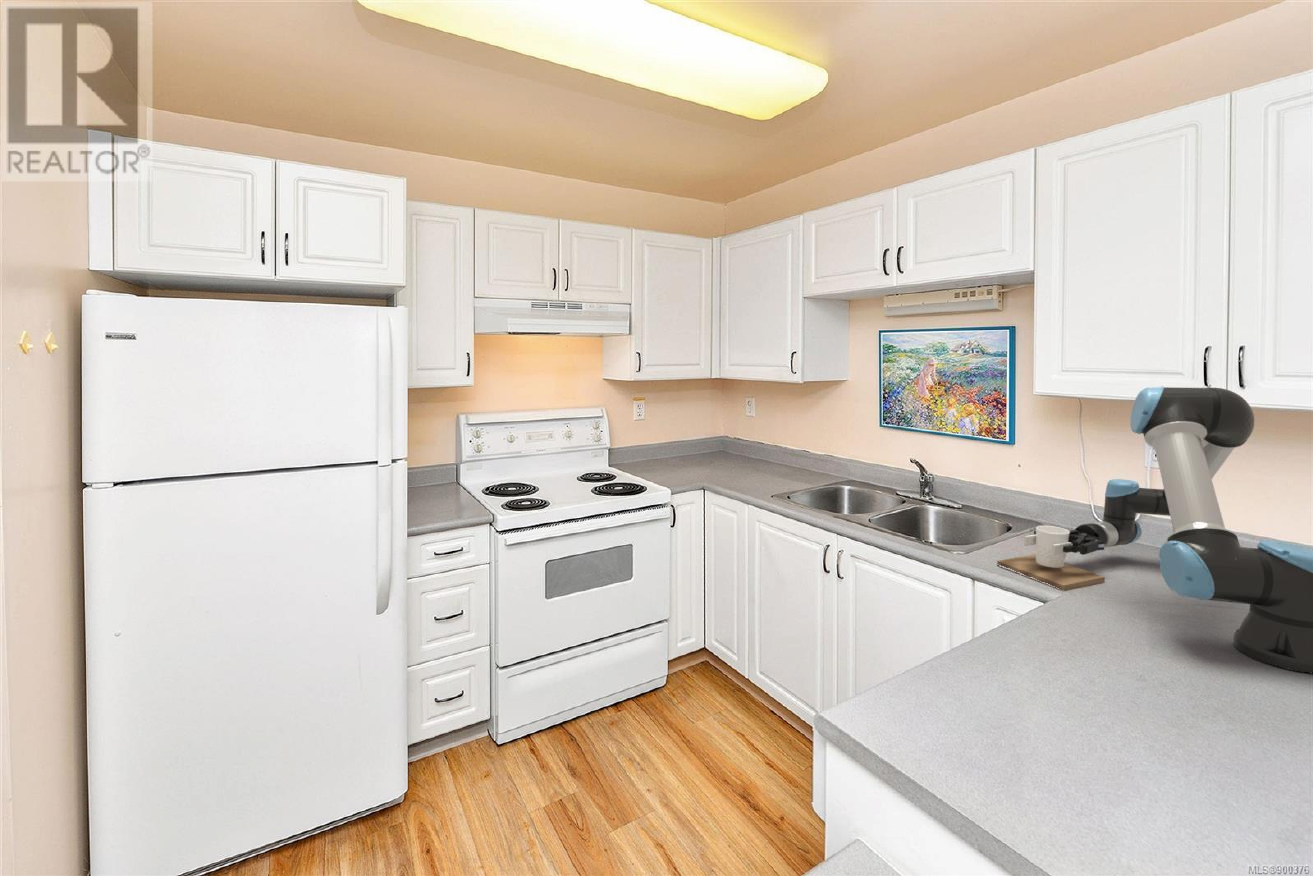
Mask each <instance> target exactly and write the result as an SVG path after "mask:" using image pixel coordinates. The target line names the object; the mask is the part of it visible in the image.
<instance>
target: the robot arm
mask: <svg viewBox="0 0 1313 876" xmlns="http://www.w3.org/2000/svg"><path fill="white" fill-rule="evenodd" d="M1250 405H1251V404H1249V402H1248V401H1247V400H1245V398H1244V397H1243V396H1241V395H1239V394H1238V393H1236V392H1235V391H1232V390H1230V389H1226V388H1222V387H1171V386H1170V387H1168V386H1167V387H1165V386H1162V385H1161V386H1160V387H1159V386H1158V387H1157V386H1156V387H1145V388H1143V389H1142V390H1140V391H1139V392H1138V394H1137V395H1136V397H1135V400H1134V401H1133V405H1132V408H1131V413H1130V429H1131V431H1132V432H1133V433H1135V434H1138V435H1141V434H1143V437H1144V442H1145V443H1146V444H1147V445H1148V446H1149V447H1152V448H1154V450H1155V451H1154V452H1155V455H1156V459H1157V465H1158V467H1159V468H1158V469H1159V472H1160V473H1159V474H1160V477H1161V481H1162V486H1163V488H1149V487H1148V488H1145V487H1140V484H1139V483H1138V482H1137V481H1135V480H1131V479H1123V478H1113V479H1110V480H1109V481H1108V482H1107V483H1106V488H1105V493H1104V506H1103V507H1104V508H1103V517H1102V521H1095V522H1091V523H1090V522H1088V523H1084V524H1080V525H1078V526H1076V528H1075V529H1071V530H1068V531H1069V532H1070V534H1069V540H1068V542H1066V543H1060V544H1054V545H1052V552H1051V554H1052V555H1058V554H1063V553H1066V554H1069V553H1073V554H1075V553H1076V554H1077V553H1079V554H1080V555H1083V556H1084V555H1088V554H1091V553H1094V552H1096V551H1103V550H1105V548H1110V547H1116V546H1123V545H1128V544H1133V543H1134V542H1137V541H1138V540H1139V539H1140V537H1141V536H1142V533H1143V532H1142V528H1141V525H1140V524H1139V522H1138V521H1137V520H1136V515H1137V514H1140V515H1155V516H1156V515H1157V516H1168V517H1170V522H1171V526H1172V530H1173V532H1172V533H1171V534H1170V535H1168V536H1167V538H1166V539H1167V540H1166V542H1164V543H1163V544H1162V545H1161V546H1160V548H1159V549H1160V550H1159V555H1158V557H1159V559H1160V560H1159V563H1158V564H1159V568H1160V572H1161V574H1162V577H1163V580H1164V582H1165V583H1166V585H1167V586H1168V588H1169V589H1170V590H1171V591H1172V592H1174V593H1176V594H1177V595H1178V596H1181V597H1186V598H1192V599H1197V600H1200V601H1213V602H1214V601H1215V602H1223V603H1224V602H1225V603H1227V602H1228V603H1235V604H1236V603H1237V604H1245V605H1249V610H1248V613H1247V614H1246V616H1245V617H1244V619H1243V621H1242V622H1241V624H1240V626H1239V627H1238V628H1237V629H1236V631H1234V634H1233V641H1232V644H1233V647H1235V649H1236V650H1238V651H1239V652H1241V653H1242V654H1244V655H1246V656H1248V657H1250V658H1252V659H1254V660H1257V661H1259V662H1262V663H1265V664H1268V665H1271V664H1272V665H1271V666H1274V665H1276V666H1275V667H1277V666H1280V667H1279V668H1281V667H1282V669H1285V668H1289V669H1292V670H1291V671H1293V670H1296V671H1295V672H1298V671H1300V672H1299V673H1304V672H1309V673H1308V674H1312V673H1311V672H1313V548H1312V549H1311V548H1309V547H1304V546H1301V545H1298V544H1292V543H1288V542H1283V541H1277V540H1270V539H1268V540H1266V539H1265V540H1260V541H1259V542H1258V543H1257V545H1256V547H1257V548H1256V547H1243V546H1241V544H1240V541H1239V538H1238V536H1237V534H1236V533H1235V532H1233V531H1232V530H1229V529H1227V528H1226V527H1225V523H1224V520H1223V517H1222V516H1223V515H1222V512H1221V508H1220V505H1219V501H1218V498H1217V494H1216V491H1215V486H1214V483H1213V478H1214V477H1215V475H1216V474H1217V473H1218V471H1219V470H1220V468H1221V467H1222V466H1223V465H1224V464H1225V462H1226V461H1227V459H1228V458H1229V456H1230V455H1231V453H1233V451H1234V449H1236V448H1240V447H1241V446H1243V445H1245V443H1246V442H1247V441H1248V439H1249V438H1250V437H1251V436H1252V433H1253V431H1254V428H1255V414H1254V412H1253V409H1252V407H1251V406H1250ZM1023 546H1025V547H1028V546H1036V530H1034V531H1033V534H1031V535H1030V534H1029V535H1024V538H1023ZM1289 669H1288V670H1289Z"/></svg>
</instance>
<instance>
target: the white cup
mask: <svg viewBox="0 0 1313 876" xmlns="http://www.w3.org/2000/svg"><path fill="white" fill-rule="evenodd" d="M1035 531H1036V544H1035V554H1036V562H1037V563H1038V564H1040V565H1043V566H1047V567H1053V568H1060V567H1063V566H1064V564H1065V559H1066V557H1067V553H1063V554H1058V555H1052V554H1051V552H1052V545H1054V544H1060V543H1066V542H1068V540H1069V534H1070V532H1069V531H1070V530H1068V529H1066V528H1063V527H1059V526H1054V525H1053V526H1052V525H1038V526H1036V527H1035Z"/></svg>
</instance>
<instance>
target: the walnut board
mask: <svg viewBox="0 0 1313 876" xmlns="http://www.w3.org/2000/svg"><path fill="white" fill-rule="evenodd" d="M997 564H999V565H1001V566H1004V567H1006V568H1010V569H1012V570H1014V571H1016V572H1020V573H1022V574H1024V575H1026V576H1028V577H1033V578H1035V579H1037V580H1039V581H1041V582H1045V583H1048V584H1050V585H1052V586H1055V587H1057V588H1059V589H1061V590H1060V591H1062V590H1065V591H1069V590H1075V589H1079V588H1083V587H1088V586H1093V585H1099V584H1102V583H1105V581H1106V580H1105V579H1106V577H1105V576H1103V575H1100V574H1097V573H1094V572H1091V571H1088V570H1085V569H1082V568H1079V567H1076V566H1074V565H1073V566H1072V565H1070V564H1067V563H1064V566H1063V567H1060V568H1053V567H1047V566H1043V565H1040V564H1038V563H1037V562H1036V553H1035V554H1030V555H1023V556H1017V557H1013V558H1007V559H1001V560H997V561H996V565H997ZM1028 577H1027V578H1028ZM1041 582H1040V583H1041ZM1052 586H1051V587H1052ZM1057 588H1056V589H1057ZM1059 589H1058V590H1059Z"/></svg>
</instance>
